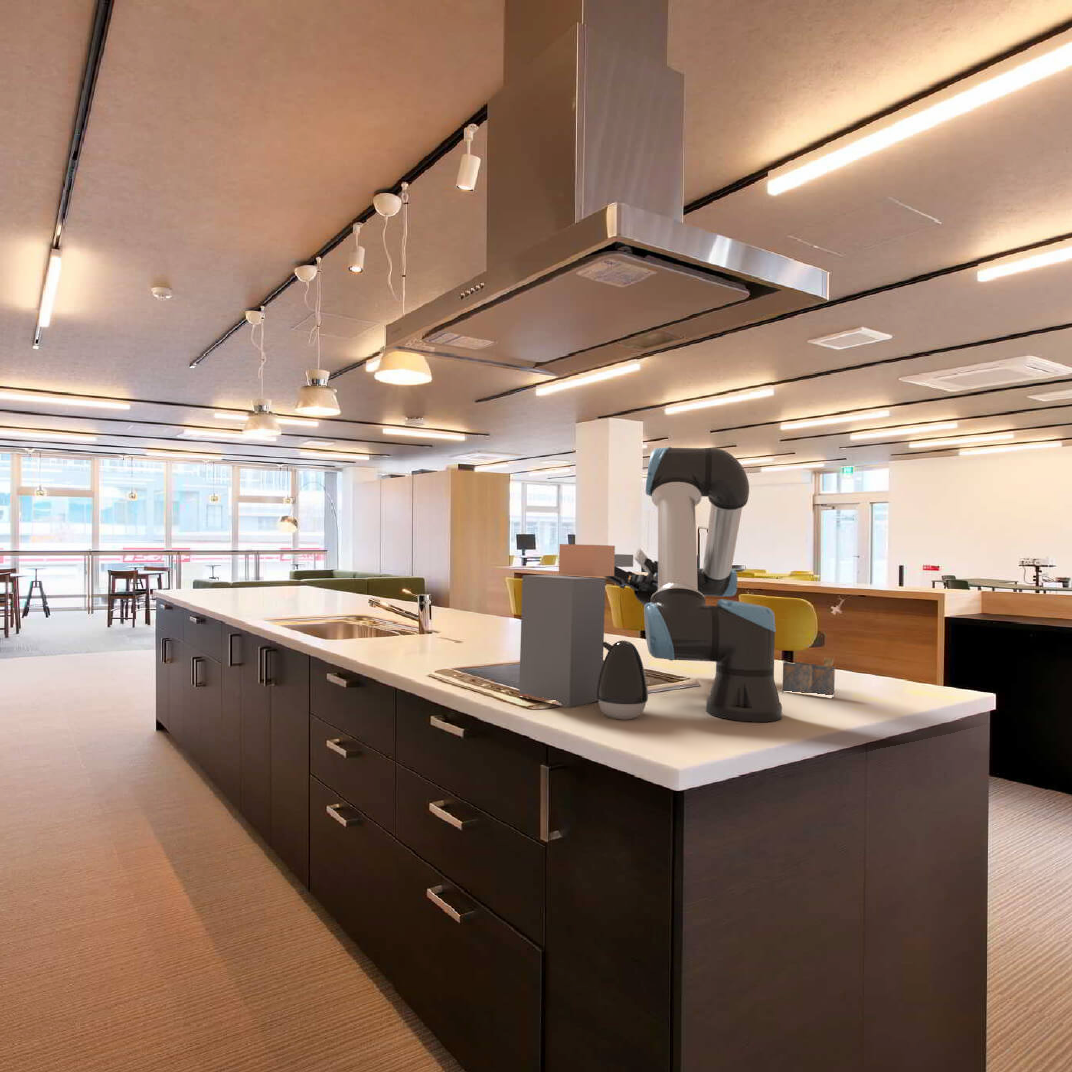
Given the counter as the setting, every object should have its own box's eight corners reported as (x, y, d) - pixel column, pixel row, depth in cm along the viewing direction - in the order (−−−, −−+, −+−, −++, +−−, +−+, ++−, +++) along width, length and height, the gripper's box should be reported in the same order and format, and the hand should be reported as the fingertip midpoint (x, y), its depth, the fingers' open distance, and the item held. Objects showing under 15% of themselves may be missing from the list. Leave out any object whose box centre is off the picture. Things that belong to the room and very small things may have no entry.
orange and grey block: (611, 573, 185) (611, 546, 185) (645, 575, 178) (645, 547, 179) (558, 574, 168) (559, 544, 168) (593, 576, 162) (594, 544, 162)
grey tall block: (552, 690, 170) (556, 575, 171) (602, 699, 161) (605, 578, 162) (518, 697, 161) (522, 575, 162) (569, 707, 152) (572, 578, 153)
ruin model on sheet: (871, 698, 174) (871, 658, 175) (856, 709, 161) (857, 665, 161) (766, 685, 189) (767, 647, 189) (745, 694, 175) (746, 653, 175)
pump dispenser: (617, 708, 153) (619, 636, 153) (657, 717, 146) (659, 641, 146) (584, 715, 146) (587, 639, 146) (625, 725, 138) (627, 645, 139)
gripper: (691, 611, 182) (654, 568, 168) (610, 604, 198) (569, 564, 183) (699, 585, 185) (663, 540, 171) (618, 580, 200) (579, 539, 186)
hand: (614, 553), depth 177 cm, fingers open, 12 cm apart
